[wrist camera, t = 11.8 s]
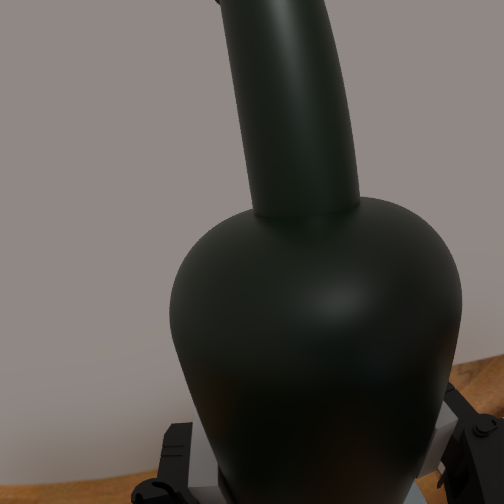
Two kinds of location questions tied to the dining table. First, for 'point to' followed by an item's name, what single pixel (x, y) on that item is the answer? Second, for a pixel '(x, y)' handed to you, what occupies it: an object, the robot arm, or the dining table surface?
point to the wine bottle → (311, 291)
